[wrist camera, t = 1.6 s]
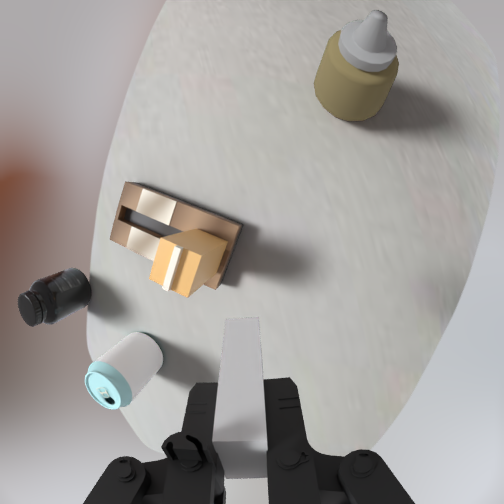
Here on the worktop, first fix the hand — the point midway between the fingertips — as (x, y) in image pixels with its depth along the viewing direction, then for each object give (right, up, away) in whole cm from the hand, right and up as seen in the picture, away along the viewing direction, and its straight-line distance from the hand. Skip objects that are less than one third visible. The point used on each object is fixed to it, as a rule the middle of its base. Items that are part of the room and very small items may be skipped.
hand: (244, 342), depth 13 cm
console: (-10, +7, +23) cm, 26 cm away
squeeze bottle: (+12, +23, +17) cm, 31 cm away
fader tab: (-5, +5, +21) cm, 22 cm away
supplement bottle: (-28, -2, +28) cm, 40 cm away
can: (-16, -11, +27) cm, 33 cm away
